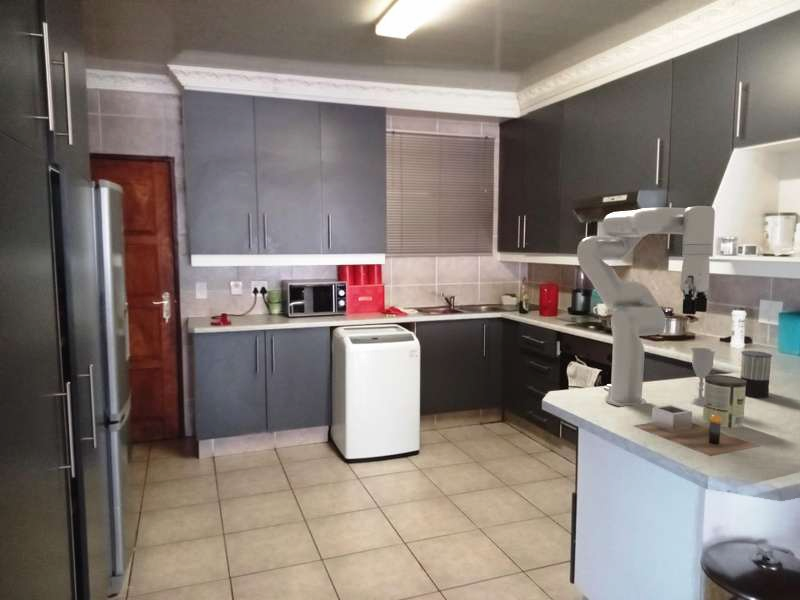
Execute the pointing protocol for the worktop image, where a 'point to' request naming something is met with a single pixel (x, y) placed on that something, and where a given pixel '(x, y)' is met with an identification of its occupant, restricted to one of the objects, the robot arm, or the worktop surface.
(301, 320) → the worktop surface
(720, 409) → the coffee can
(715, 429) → the post
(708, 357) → the chalice
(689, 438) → the board
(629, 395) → the robot arm
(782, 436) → the worktop surface
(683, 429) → the white hollow square box
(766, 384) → the milk frother
